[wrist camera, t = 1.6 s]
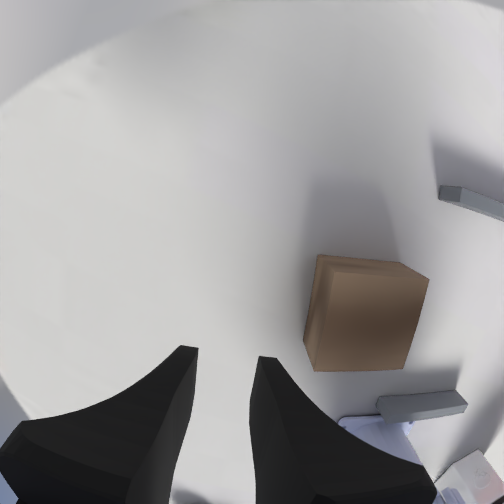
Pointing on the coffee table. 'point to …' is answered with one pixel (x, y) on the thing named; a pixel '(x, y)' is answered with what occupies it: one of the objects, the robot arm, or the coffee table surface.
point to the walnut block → (362, 314)
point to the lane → (446, 401)
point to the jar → (473, 480)
